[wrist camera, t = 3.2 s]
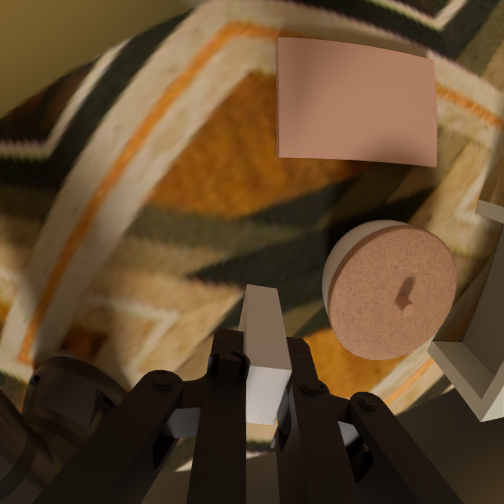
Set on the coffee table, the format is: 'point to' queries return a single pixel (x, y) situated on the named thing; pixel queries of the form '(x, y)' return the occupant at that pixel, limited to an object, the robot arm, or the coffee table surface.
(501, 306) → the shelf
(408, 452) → the robot arm
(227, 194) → the coffee table surface
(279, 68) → the book
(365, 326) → the lidded jar
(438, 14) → the coffee table surface
